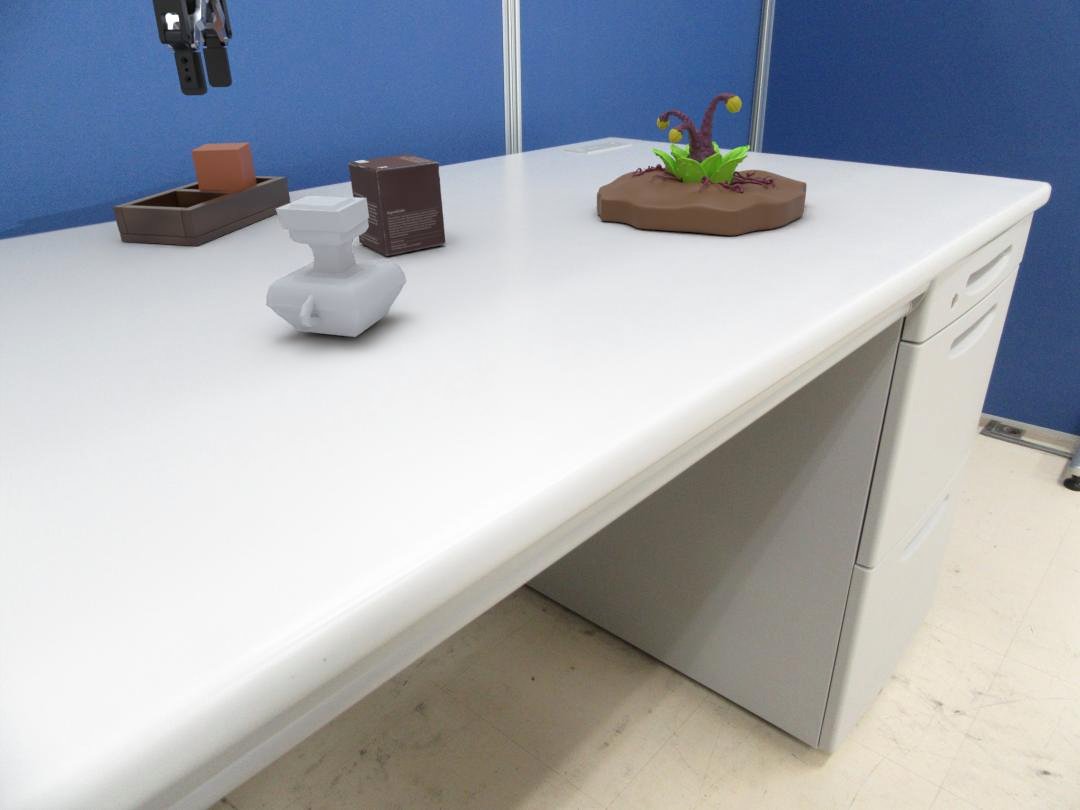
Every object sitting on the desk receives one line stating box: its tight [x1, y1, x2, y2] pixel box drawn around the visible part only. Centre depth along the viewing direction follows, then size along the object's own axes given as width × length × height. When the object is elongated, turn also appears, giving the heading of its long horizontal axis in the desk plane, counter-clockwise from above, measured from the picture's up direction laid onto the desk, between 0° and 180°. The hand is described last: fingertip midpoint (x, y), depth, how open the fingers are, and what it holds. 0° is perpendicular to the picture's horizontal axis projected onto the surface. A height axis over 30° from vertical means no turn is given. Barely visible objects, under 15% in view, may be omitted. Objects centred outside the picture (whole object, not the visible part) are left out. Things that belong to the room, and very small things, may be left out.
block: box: [190, 142, 257, 191], centre depth 82 cm, size 5×5×6 cm
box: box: [347, 153, 446, 257], centre depth 70 cm, size 6×6×7 cm
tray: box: [112, 175, 291, 247], centre depth 80 cm, size 8×16×3 cm, turn 164°
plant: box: [596, 92, 808, 237], centre depth 78 cm, size 20×20×11 cm
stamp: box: [265, 195, 407, 338], centre depth 51 cm, size 9×7×8 cm
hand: (209, 90), depth 78 cm, fingers open, 8 cm apart
